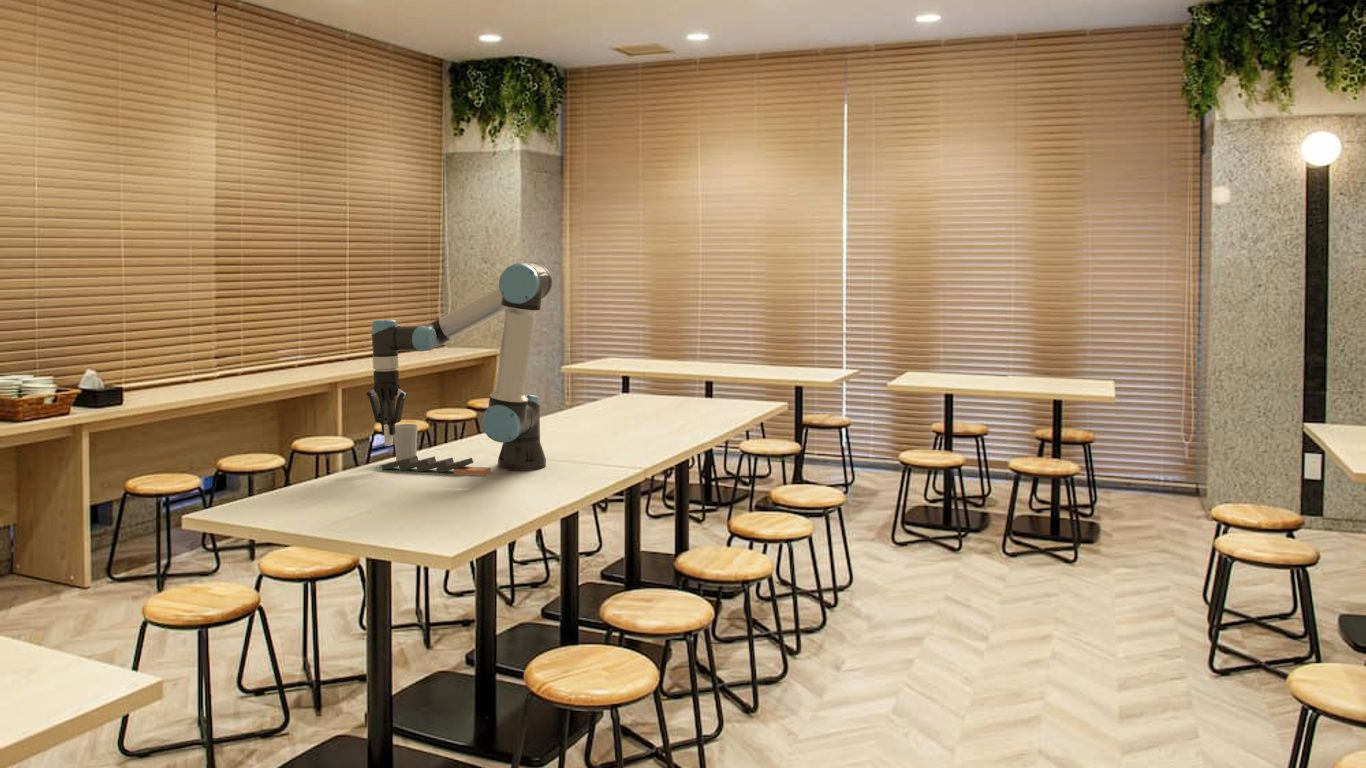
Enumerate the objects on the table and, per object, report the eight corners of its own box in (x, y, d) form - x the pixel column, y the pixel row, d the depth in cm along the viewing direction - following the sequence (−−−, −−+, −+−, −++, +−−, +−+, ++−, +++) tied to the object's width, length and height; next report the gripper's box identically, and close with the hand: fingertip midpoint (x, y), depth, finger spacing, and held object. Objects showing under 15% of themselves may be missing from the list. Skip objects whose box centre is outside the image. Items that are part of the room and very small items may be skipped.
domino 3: (425, 469, 336) (454, 462, 333) (418, 472, 331) (446, 465, 328) (424, 464, 336) (452, 457, 333) (416, 467, 331) (445, 460, 328)
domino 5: (461, 471, 333) (490, 472, 330) (453, 474, 328) (483, 475, 325) (461, 465, 333) (490, 467, 330) (453, 469, 328) (483, 470, 325)
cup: (412, 465, 344) (411, 428, 343) (389, 464, 346) (387, 427, 345) (423, 460, 352) (422, 424, 351) (400, 459, 354) (399, 423, 352)
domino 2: (408, 468, 337) (436, 461, 335) (400, 471, 332) (428, 464, 330) (406, 463, 337) (434, 456, 334) (398, 466, 332) (427, 459, 330)
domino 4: (445, 470, 334) (473, 462, 331) (437, 473, 329) (466, 465, 326) (443, 465, 334) (472, 457, 331) (436, 468, 329) (464, 460, 326)
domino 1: (390, 467, 339) (418, 460, 336) (382, 470, 334) (410, 463, 331) (389, 462, 339) (417, 455, 336) (381, 465, 334) (409, 458, 331)
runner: (493, 473, 331) (493, 472, 331) (484, 477, 324) (484, 476, 324) (382, 467, 341) (382, 466, 341) (371, 471, 334) (371, 470, 334)
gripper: (411, 368, 334) (413, 443, 337) (373, 368, 338) (376, 442, 340) (398, 371, 327) (401, 448, 330) (360, 370, 330) (363, 446, 333)
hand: (389, 445), depth 335 cm, fingers closed
